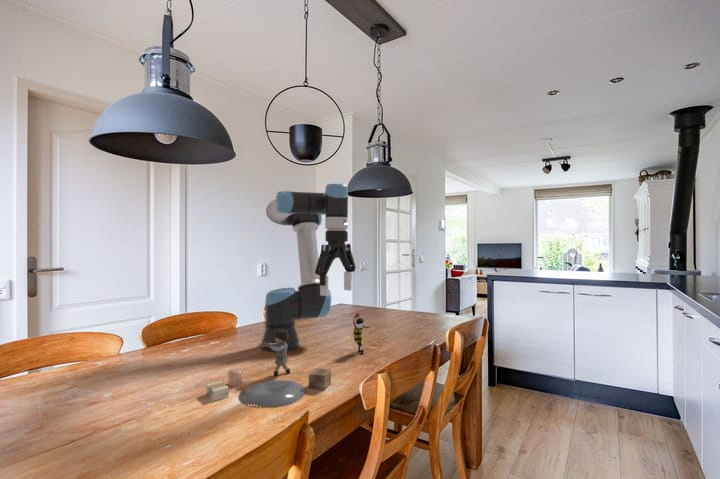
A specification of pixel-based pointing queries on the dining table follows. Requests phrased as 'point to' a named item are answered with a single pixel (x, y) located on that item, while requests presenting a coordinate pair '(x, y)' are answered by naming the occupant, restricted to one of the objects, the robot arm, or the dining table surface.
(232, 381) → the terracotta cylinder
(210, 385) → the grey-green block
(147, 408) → the dining table surface
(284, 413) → the dining table surface
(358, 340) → the toy
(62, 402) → the dining table surface
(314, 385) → the walnut block
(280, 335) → the toy
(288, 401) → the plate
